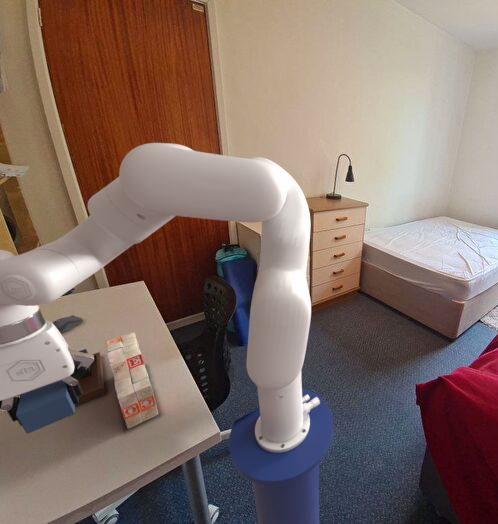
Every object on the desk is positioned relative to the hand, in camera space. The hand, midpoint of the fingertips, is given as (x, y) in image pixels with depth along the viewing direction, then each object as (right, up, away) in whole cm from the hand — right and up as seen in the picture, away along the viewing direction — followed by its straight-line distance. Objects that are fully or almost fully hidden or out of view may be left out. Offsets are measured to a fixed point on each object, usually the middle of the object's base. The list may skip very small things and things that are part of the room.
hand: (51, 408), depth 51 cm
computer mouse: (-44, +4, +46) cm, 64 cm away
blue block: (0, -1, 0) cm, 1 cm away
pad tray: (-18, -6, +24) cm, 31 cm away
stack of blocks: (0, -8, +21) cm, 22 cm away
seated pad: (-21, -4, +26) cm, 34 cm away
